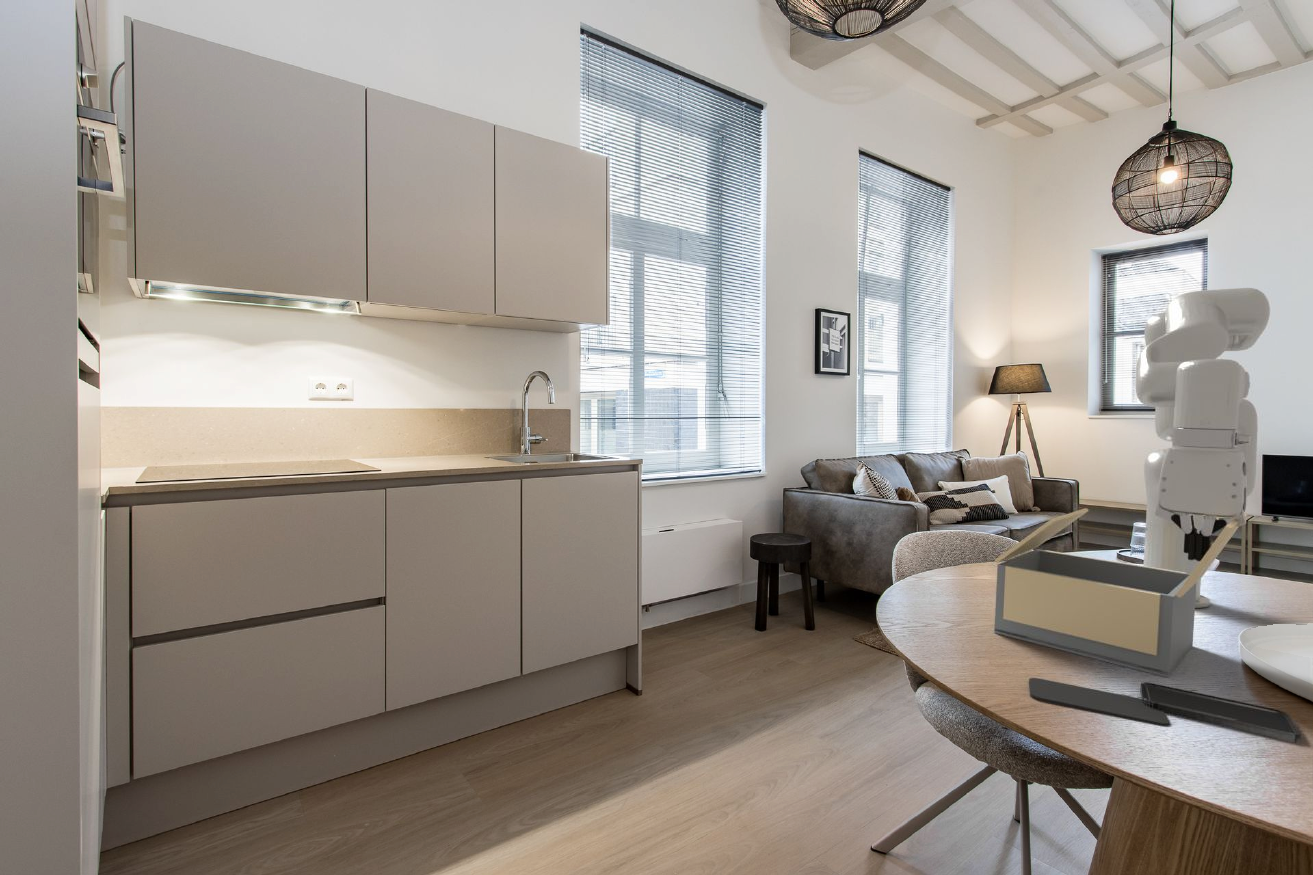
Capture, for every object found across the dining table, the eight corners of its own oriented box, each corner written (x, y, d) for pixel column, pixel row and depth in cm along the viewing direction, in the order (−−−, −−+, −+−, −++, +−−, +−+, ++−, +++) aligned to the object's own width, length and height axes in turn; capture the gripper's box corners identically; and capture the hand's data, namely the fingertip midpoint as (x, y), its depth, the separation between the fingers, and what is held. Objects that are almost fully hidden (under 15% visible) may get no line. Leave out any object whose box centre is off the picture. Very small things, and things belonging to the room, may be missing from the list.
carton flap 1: (1035, 548, 124) (1032, 545, 125) (1088, 510, 118) (1086, 508, 118) (996, 562, 111) (994, 560, 112) (1054, 521, 105) (1051, 518, 105)
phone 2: (1140, 680, 90) (1287, 711, 82) (1139, 688, 90) (1287, 720, 82) (1142, 700, 84) (1303, 736, 75) (1142, 709, 84) (1302, 745, 75)
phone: (1172, 725, 79) (1030, 695, 86) (1171, 732, 79) (1030, 701, 86) (1158, 701, 85) (1028, 676, 92) (1158, 707, 85) (1028, 681, 92)
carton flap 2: (1242, 512, 102) (1247, 514, 102) (1198, 574, 106) (1202, 576, 106) (1225, 525, 89) (1230, 528, 89) (1175, 595, 93) (1180, 597, 93)
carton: (1034, 609, 125) (1037, 548, 125) (1193, 645, 108) (1197, 574, 107) (992, 633, 111) (996, 564, 111) (1167, 678, 93) (1172, 597, 93)
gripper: (1274, 443, 95) (1266, 565, 96) (1149, 437, 106) (1143, 547, 107) (1267, 444, 90) (1258, 573, 91) (1137, 438, 101) (1131, 553, 102)
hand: (1196, 559), depth 99 cm, fingers closed
